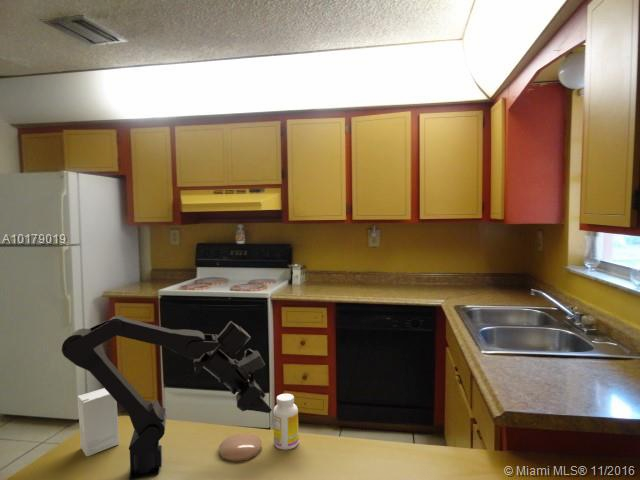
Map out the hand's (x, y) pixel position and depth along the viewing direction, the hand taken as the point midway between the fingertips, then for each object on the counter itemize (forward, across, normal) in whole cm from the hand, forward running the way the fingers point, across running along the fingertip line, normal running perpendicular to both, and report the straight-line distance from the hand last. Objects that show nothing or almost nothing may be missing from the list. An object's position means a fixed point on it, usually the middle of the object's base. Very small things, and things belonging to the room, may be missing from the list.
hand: (267, 403), depth 105 cm
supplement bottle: (+12, 0, +5) cm, 13 cm away
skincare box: (-22, +15, +39) cm, 47 cm away
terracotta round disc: (+3, +2, +13) cm, 14 cm away
